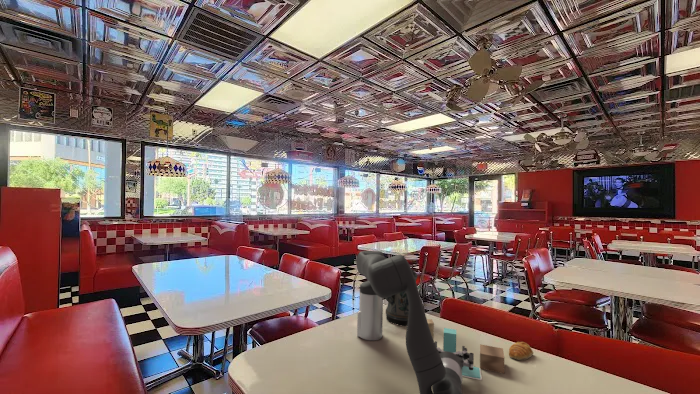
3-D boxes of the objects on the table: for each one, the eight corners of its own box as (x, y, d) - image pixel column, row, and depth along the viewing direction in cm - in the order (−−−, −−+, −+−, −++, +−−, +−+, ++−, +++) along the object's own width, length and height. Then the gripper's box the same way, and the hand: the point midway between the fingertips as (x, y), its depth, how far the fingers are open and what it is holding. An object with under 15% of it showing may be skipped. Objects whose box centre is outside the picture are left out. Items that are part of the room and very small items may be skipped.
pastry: (524, 364, 102) (524, 353, 102) (503, 357, 107) (503, 345, 107) (534, 355, 109) (534, 344, 109) (513, 348, 114) (513, 338, 114)
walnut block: (479, 369, 99) (480, 353, 99) (479, 359, 105) (480, 344, 105) (504, 374, 96) (504, 358, 96) (502, 363, 103) (502, 348, 103)
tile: (457, 375, 94) (457, 374, 94) (457, 364, 101) (457, 363, 101) (481, 380, 92) (481, 378, 92) (480, 368, 99) (480, 367, 99)
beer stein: (427, 317, 142) (428, 263, 143) (411, 332, 126) (412, 270, 126) (394, 310, 151) (395, 259, 152) (375, 323, 135) (377, 265, 135)
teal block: (443, 362, 102) (443, 332, 102) (443, 357, 106) (444, 327, 106) (455, 365, 101) (456, 334, 101) (456, 359, 104) (456, 329, 105)
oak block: (422, 351, 110) (422, 323, 110) (420, 346, 114) (420, 318, 114) (433, 351, 109) (433, 323, 110) (431, 346, 113) (431, 319, 114)
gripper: (475, 363, 83) (473, 338, 98) (421, 353, 88) (427, 331, 103) (475, 391, 83) (472, 362, 98) (421, 380, 88) (426, 354, 103)
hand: (449, 346), depth 101 cm, fingers open, 8 cm apart
